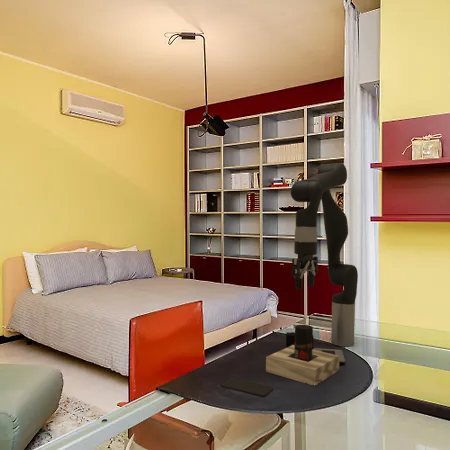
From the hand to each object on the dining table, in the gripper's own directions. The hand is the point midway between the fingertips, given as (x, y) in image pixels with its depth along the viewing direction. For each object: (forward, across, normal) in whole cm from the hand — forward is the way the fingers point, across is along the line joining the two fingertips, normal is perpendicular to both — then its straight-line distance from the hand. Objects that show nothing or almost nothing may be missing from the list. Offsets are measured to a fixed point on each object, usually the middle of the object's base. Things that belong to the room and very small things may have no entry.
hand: (304, 288), depth 141 cm
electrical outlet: (+29, -18, +1) cm, 34 cm away
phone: (+29, +24, -6) cm, 38 cm away
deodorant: (+28, 0, 0) cm, 28 cm away
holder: (+28, 0, 0) cm, 28 cm away
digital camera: (+28, -18, -11) cm, 35 cm away
